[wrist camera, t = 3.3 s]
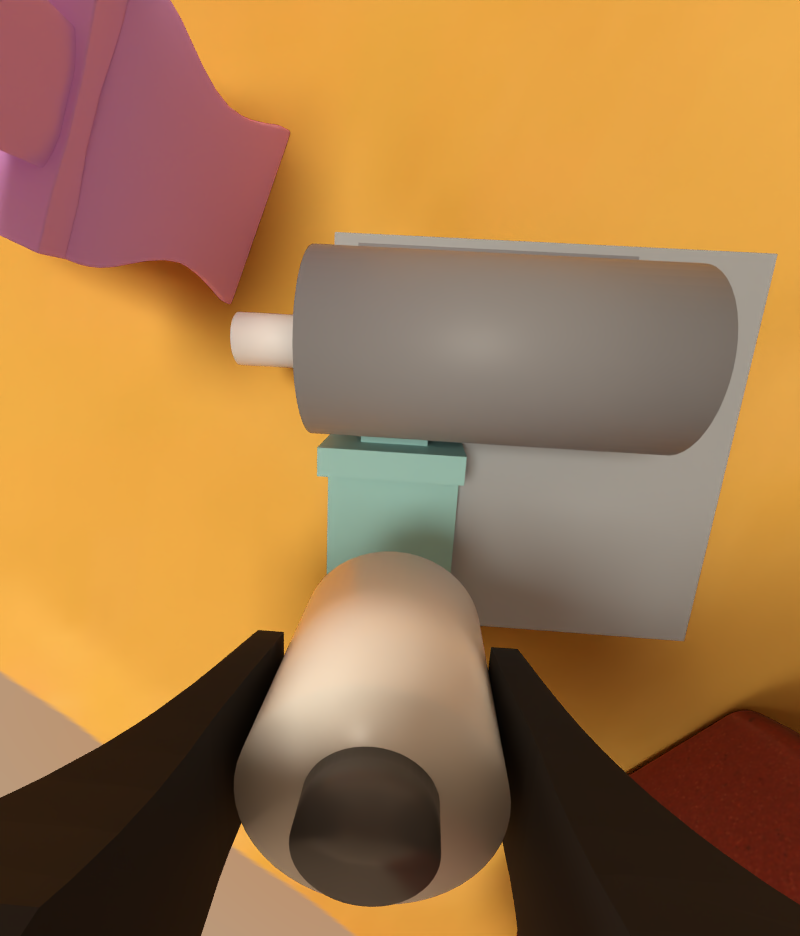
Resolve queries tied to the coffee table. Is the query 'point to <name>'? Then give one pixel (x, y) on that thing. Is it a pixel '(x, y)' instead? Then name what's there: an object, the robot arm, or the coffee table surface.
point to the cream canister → (378, 740)
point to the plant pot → (738, 793)
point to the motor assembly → (524, 414)
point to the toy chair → (125, 142)
